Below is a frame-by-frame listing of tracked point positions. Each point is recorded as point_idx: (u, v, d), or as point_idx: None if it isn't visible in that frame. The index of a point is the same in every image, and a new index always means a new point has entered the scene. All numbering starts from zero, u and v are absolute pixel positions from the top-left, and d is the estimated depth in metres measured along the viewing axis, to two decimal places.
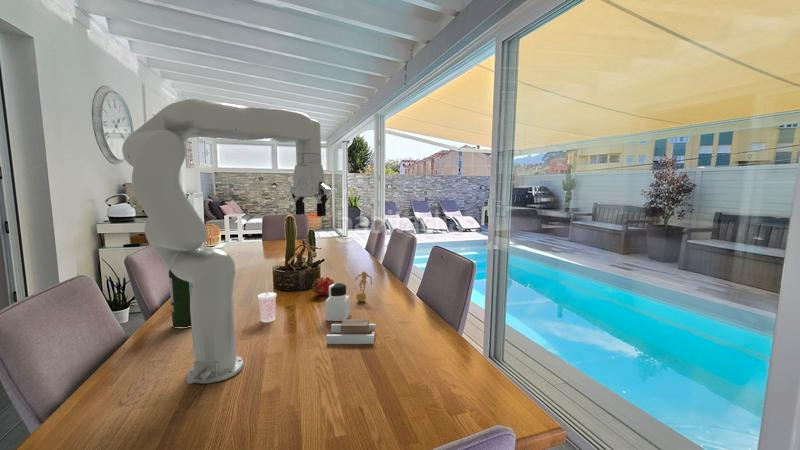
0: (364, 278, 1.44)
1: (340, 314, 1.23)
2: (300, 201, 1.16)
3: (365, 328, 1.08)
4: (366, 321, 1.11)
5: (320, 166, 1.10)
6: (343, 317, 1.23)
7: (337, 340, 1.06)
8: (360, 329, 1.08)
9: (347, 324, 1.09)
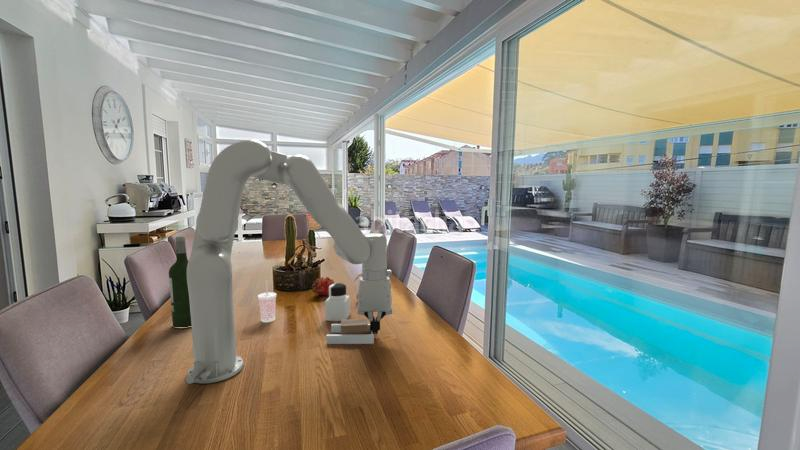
0: None
1: (340, 314, 1.23)
2: (376, 319, 1.10)
3: (365, 327, 1.08)
4: (365, 320, 1.11)
5: None
6: (343, 317, 1.23)
7: (337, 340, 1.06)
8: (360, 328, 1.08)
9: (347, 324, 1.09)
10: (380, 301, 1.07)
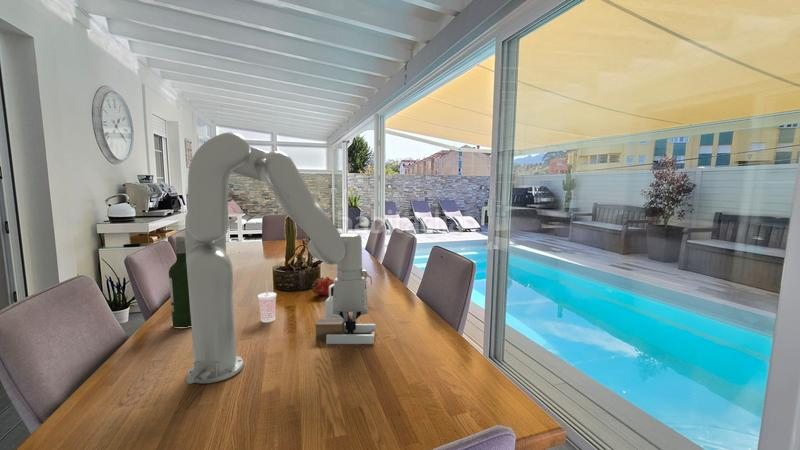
0: None
1: None
2: None
3: (340, 327, 1.08)
4: (341, 320, 1.11)
5: None
6: None
7: (337, 340, 1.06)
8: (334, 327, 1.08)
9: (322, 322, 1.09)
10: (355, 301, 1.07)
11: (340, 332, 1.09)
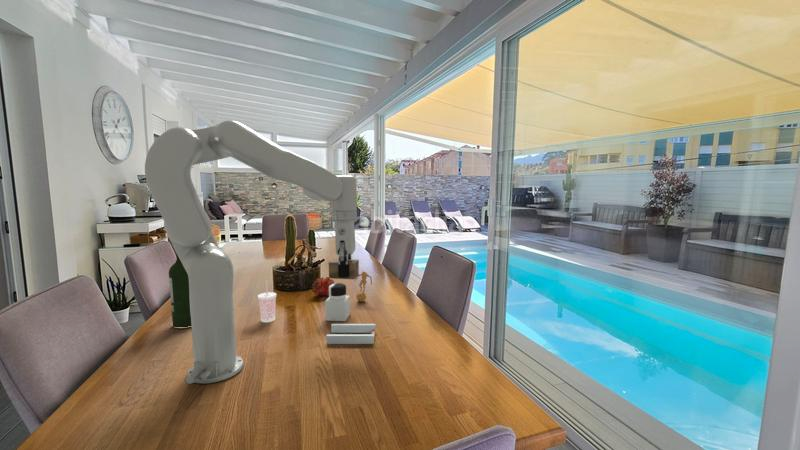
0: (364, 278, 1.44)
1: (340, 314, 1.23)
2: None
3: (352, 266, 1.08)
4: (355, 260, 1.11)
5: None
6: (343, 317, 1.23)
7: (337, 340, 1.06)
8: None
9: (336, 261, 1.09)
10: None
11: (352, 271, 1.08)
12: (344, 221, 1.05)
